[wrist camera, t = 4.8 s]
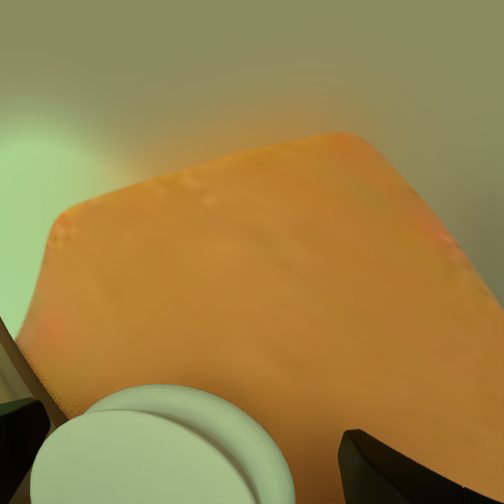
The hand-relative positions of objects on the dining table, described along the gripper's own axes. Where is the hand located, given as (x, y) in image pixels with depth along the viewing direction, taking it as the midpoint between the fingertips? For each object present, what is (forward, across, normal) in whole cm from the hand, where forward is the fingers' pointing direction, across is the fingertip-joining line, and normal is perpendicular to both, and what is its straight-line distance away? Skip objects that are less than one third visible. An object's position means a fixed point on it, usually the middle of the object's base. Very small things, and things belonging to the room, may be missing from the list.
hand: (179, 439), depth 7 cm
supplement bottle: (+4, 0, -6) cm, 7 cm away
